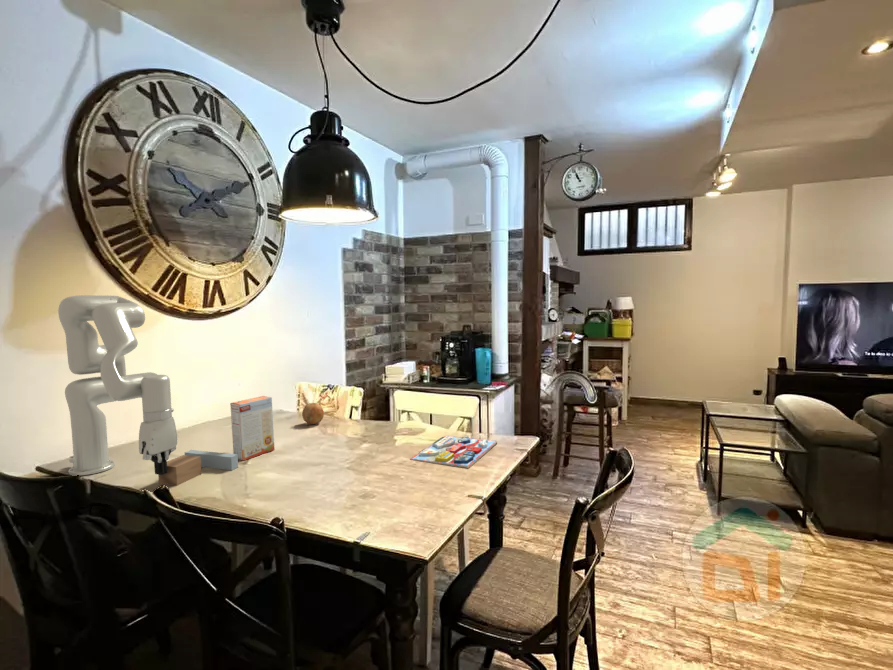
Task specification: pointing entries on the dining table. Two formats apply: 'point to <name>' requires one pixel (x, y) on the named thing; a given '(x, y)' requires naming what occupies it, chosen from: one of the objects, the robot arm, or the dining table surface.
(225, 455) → the batten
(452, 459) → the puzzle board
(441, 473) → the dining table surface
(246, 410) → the cracker box
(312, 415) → the onion
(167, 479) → the walnut block
